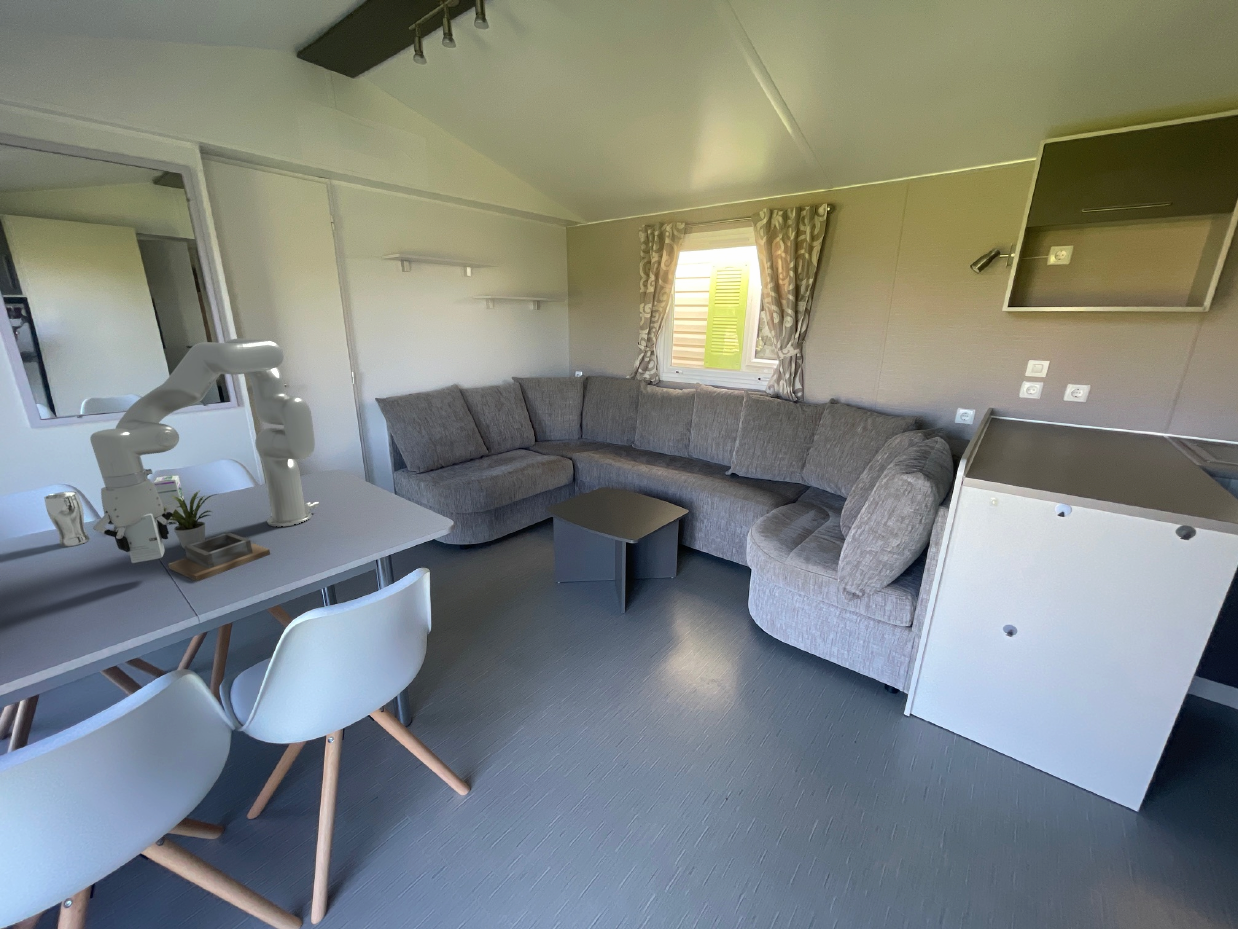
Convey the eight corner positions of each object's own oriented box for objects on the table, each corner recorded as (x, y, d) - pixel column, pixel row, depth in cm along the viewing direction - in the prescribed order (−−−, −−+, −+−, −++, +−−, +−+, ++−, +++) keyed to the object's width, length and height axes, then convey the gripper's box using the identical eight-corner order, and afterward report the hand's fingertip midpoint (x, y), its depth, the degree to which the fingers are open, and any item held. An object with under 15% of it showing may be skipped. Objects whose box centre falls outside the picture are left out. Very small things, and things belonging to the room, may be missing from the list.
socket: (242, 543, 151) (238, 526, 149) (270, 554, 145) (267, 536, 143) (169, 568, 135) (165, 550, 134) (197, 581, 129) (193, 562, 128)
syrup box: (186, 520, 166) (176, 479, 162) (162, 524, 163) (152, 481, 159) (188, 514, 170) (179, 474, 166) (165, 518, 167) (155, 477, 163)
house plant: (225, 530, 160) (214, 481, 155) (232, 544, 150) (222, 493, 146) (165, 542, 150) (153, 491, 145) (169, 558, 141) (156, 504, 136)
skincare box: (131, 564, 126) (117, 520, 122) (135, 556, 130) (121, 513, 126) (163, 557, 129) (150, 515, 125) (166, 550, 133) (154, 508, 129)
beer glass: (96, 540, 150) (83, 493, 146) (64, 549, 144) (49, 500, 140) (85, 535, 153) (71, 489, 149) (53, 544, 147) (38, 496, 142)
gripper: (160, 467, 132) (178, 528, 137) (69, 487, 117) (93, 555, 122) (176, 471, 129) (193, 534, 134) (84, 493, 114) (107, 562, 119)
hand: (145, 543), depth 128 cm, fingers closed on skincare box, 7 cm apart
